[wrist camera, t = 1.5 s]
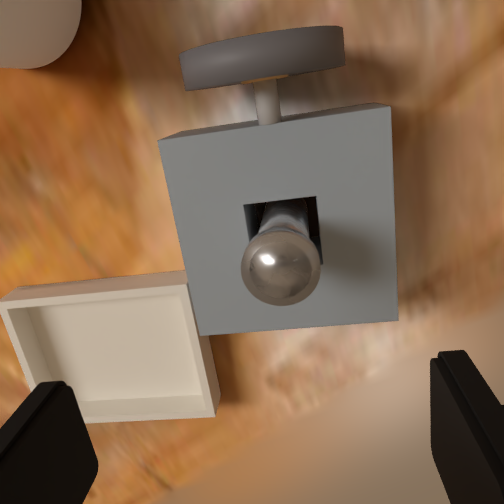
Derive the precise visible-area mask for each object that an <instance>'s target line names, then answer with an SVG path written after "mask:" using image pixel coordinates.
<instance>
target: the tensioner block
mask: <svg viewBox="0 0 504 504" xmlns="http://www.w3.org/2000/svg"><path fill="white" fill-rule="evenodd" d="M179 59H180V65H181V70H182V75H183V80H184V86H185V91H192V90H201V89H208V88H216V87H223V86H230V85H237V84H248V83H253V88H254V95H255V102H256V109H257V117H258V120H254V121H247V122H241V123H234V124H227V125H220V126H214V127H207V128H200V129H194V130H187V131H181V132H178V133H176V134H173V135H171V136H168V137H165V138H163V139H160V140H158V146H159V150H160V155H161V160H162V164H163V169H164V173H165V178H166V183H167V187H168V192H169V196H170V201H171V205H172V210H173V215H174V219H175V224H176V228H177V233H178V238H179V242H180V247H181V251H182V256H183V260H184V265H185V270H186V274H187V279H188V283H189V288H190V293H191V297H192V302H193V306H194V311H195V316H196V320H197V325H198V329H199V334H200V336H206V335H219V334H232V333H245V332H258V331H271V330H284V329H297V328H310V327H323V326H336V325H349V324H362V323H375V322H388V321H399V320H398V292H397V264H396V236H395V209H394V181H393V153H392V125H391V106H387V105H382V104H378V103H368V104H362V105H355V106H348V107H341V108H335V109H328V110H321V111H315V112H308V113H301V114H294V115H288V116H281V113H280V105H279V96H278V88H277V80H276V79H279V78H285V77H288V76H293V75H299V74H304V73H310V72H315V71H321V70H326V69H331V68H336V67H341V66H344V65H345V52H344V37H343V28H342V27H340V26H314V27H302V28H294V29H286V30H278V31H272V32H265V33H259V34H253V35H248V36H242V37H237V38H232V39H227V40H223V41H218V42H214V43H210V44H206V45H203V46H199V47H196V48H192V49H189V50H187V51H184V52H182V53H181V54H179ZM311 196H315V197H316V207H317V217H318V228H319V236H315V237H309V239H310V240H311V241H312V242H313V244H314V245H315V247H316V249H317V251H318V254H319V258H320V266H321V274H320V279H319V282H318V284H317V286H316V288H315V290H314V291H313V292H312V293H311V294H310V295H309V296H308V297H307V298H306V299H304V300H302V301H301V302H299V303H296V304H293V305H288V306H274V305H270V304H267V303H264V302H262V301H260V300H259V299H257V298H256V297H254V296H253V295H252V294H251V293H250V292H249V291H248V289H247V288H246V286H245V284H244V282H243V280H242V276H241V261H242V258H243V255H244V252H245V249H246V247H247V245H248V243H249V242H250V241H251V240H252V239H253V237H255V236H256V235H257V234H258V232H259V228H258V221H257V214H256V208H255V203H261V202H269V201H277V200H286V199H294V198H302V197H311Z"/></svg>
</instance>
